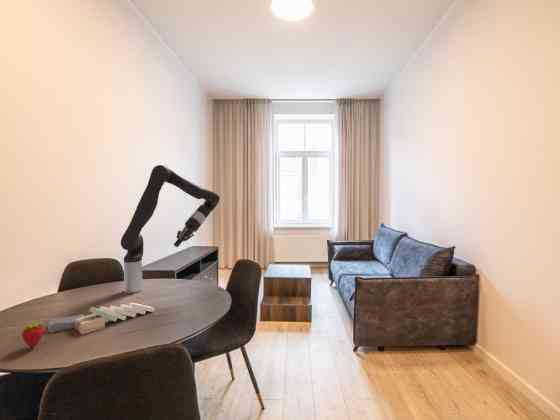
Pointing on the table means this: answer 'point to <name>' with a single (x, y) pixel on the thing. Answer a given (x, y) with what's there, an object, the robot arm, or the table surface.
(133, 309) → the domino
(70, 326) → the stone block
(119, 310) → the domino
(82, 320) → the stop block
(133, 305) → the domino
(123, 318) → the domino
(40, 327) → the strawberry
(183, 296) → the table surface
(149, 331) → the table surface
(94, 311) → the domino
